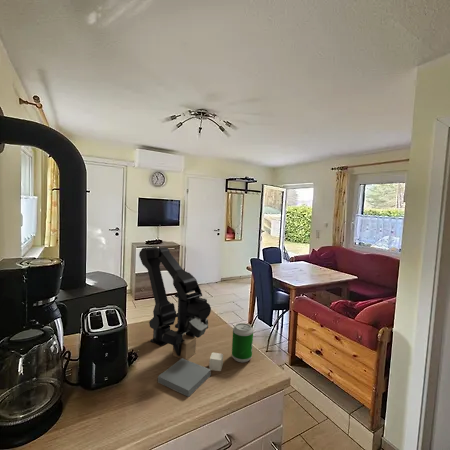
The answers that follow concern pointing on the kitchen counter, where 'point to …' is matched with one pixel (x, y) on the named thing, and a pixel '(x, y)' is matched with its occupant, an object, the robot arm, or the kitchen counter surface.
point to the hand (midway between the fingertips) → (184, 351)
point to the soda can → (242, 342)
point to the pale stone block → (216, 361)
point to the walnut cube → (186, 347)
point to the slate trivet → (184, 376)
